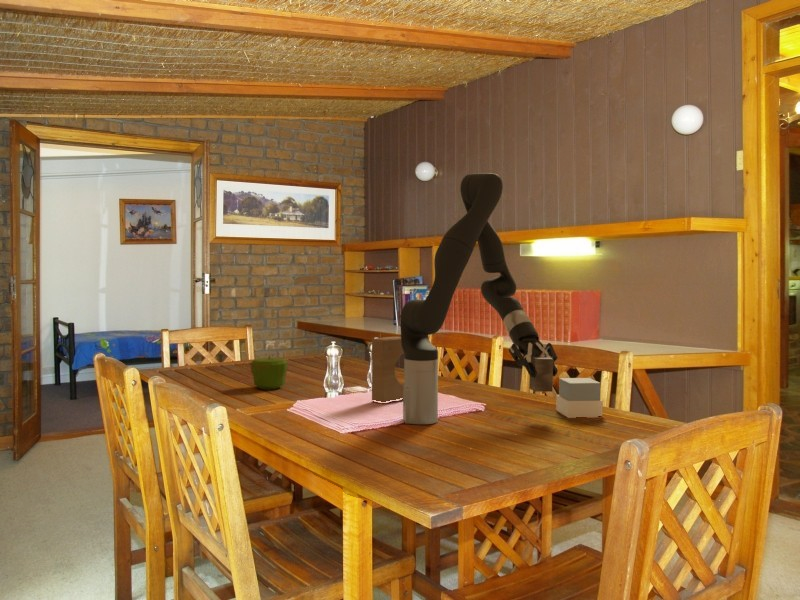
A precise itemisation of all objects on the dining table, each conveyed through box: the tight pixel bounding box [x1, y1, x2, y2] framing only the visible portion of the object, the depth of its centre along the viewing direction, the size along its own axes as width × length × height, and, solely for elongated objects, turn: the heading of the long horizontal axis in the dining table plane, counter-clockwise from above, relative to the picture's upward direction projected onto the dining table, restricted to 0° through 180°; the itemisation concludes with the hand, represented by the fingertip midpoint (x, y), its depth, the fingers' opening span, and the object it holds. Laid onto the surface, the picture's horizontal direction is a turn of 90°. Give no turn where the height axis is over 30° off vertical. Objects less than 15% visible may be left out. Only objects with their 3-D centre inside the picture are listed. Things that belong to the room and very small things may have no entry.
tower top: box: [558, 377, 602, 401], centre depth 195 cm, size 9×9×5 cm
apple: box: [250, 356, 288, 391], centre depth 237 cm, size 12×12×11 cm
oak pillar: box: [528, 356, 554, 393], centre depth 188 cm, size 5×5×9 cm
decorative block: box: [371, 335, 404, 402], centre depth 214 cm, size 11×6×20 cm, turn 135°
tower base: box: [555, 394, 604, 419], centre depth 196 cm, size 10×10×5 cm
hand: (545, 375), depth 186 cm, fingers closed on oak pillar, 6 cm apart
